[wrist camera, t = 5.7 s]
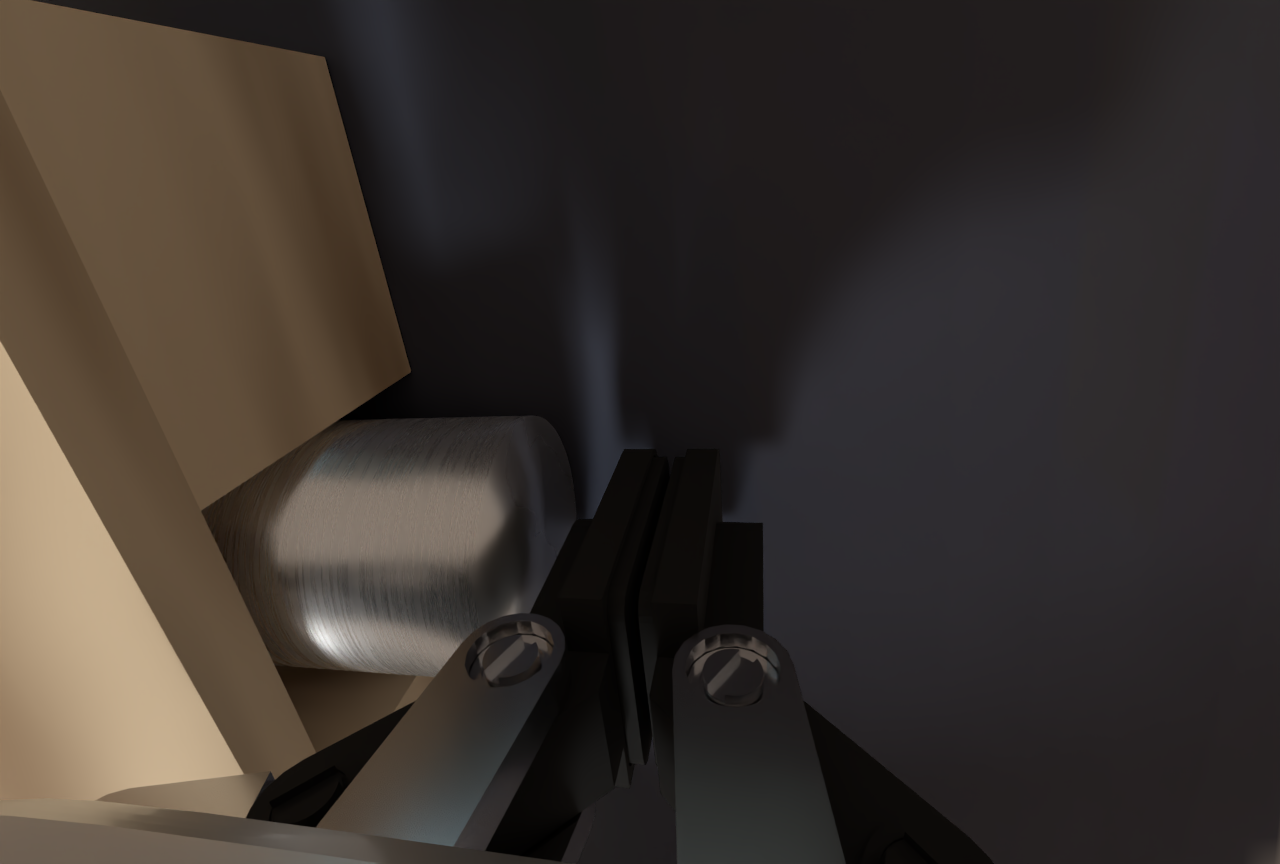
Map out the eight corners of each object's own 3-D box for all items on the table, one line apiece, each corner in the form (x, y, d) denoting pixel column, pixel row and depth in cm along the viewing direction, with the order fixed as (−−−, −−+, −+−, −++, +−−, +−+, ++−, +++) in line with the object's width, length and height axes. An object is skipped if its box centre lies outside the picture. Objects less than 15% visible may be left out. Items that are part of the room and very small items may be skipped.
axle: (561, 388, 12) (454, 472, 8) (585, 586, 13) (504, 749, 9) (-21, 407, 15) (-323, 474, 11) (45, 566, 16) (-201, 680, 12)
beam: (324, 57, 10) (-218, -48, 4) (514, 746, 16) (393, 1042, 11) (-9, 111, 11) (-729, 84, 6) (290, 725, 18) (88, 977, 12)
